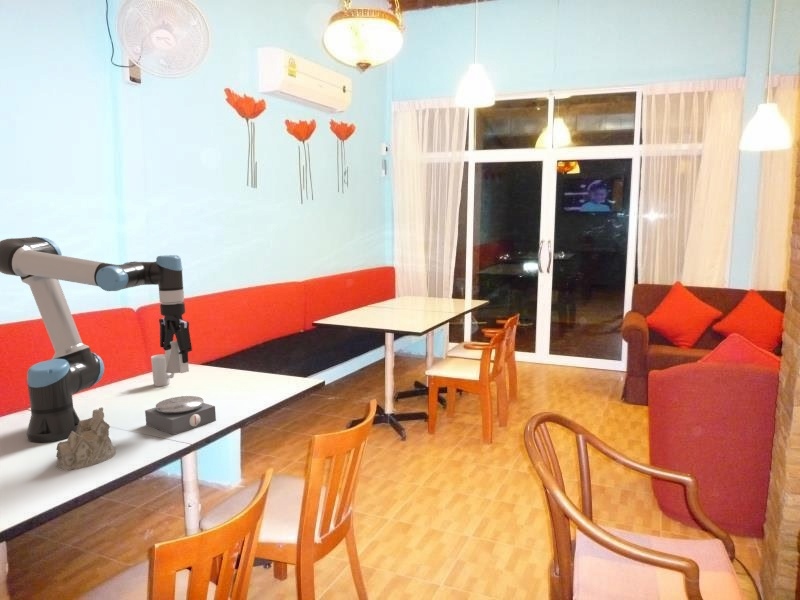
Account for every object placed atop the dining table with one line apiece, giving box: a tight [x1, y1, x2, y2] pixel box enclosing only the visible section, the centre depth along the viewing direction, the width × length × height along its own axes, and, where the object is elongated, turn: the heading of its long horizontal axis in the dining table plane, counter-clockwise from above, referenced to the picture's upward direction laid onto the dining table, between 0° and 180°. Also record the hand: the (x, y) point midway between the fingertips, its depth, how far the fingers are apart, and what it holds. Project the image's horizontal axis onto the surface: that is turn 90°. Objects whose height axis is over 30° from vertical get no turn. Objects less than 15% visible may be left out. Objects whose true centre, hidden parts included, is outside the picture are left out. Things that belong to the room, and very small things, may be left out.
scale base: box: [144, 402, 217, 436], centre depth 196 cm, size 16×16×6 cm
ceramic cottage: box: [55, 406, 117, 471], centre depth 168 cm, size 16×16×15 cm
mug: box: [150, 353, 175, 387], centre depth 241 cm, size 10×7×12 cm, turn 76°
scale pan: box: [155, 395, 205, 413], centre depth 195 cm, size 15×15×1 cm
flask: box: [166, 340, 181, 374], centre depth 193 cm, size 7×7×10 cm
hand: (177, 370), depth 194 cm, fingers closed on flask, 7 cm apart
